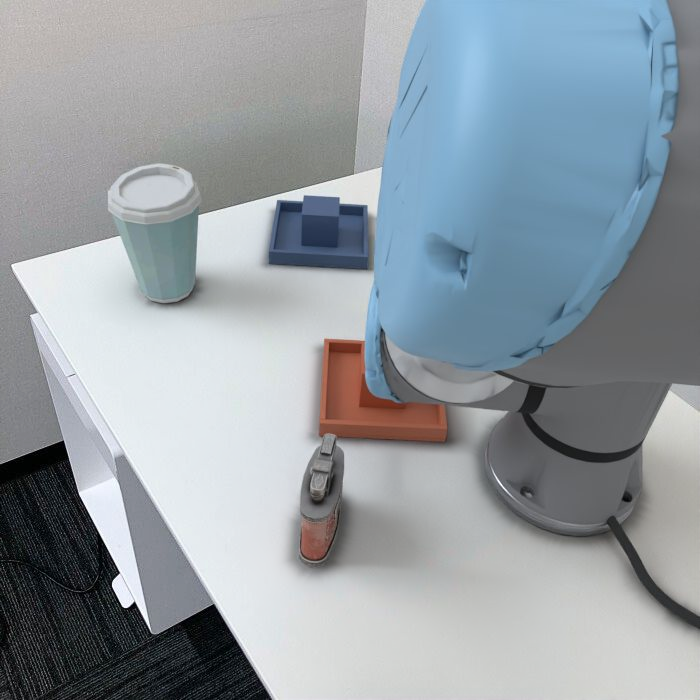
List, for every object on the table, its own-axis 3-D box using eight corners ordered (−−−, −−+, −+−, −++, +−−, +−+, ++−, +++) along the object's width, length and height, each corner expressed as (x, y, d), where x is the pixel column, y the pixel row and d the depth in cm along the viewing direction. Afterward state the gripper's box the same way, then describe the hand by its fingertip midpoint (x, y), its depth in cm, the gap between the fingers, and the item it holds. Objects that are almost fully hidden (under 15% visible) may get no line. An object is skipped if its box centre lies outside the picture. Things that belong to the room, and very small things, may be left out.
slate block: (337, 247, 102) (339, 216, 98) (301, 245, 102) (301, 214, 98) (338, 227, 105) (339, 197, 102) (303, 225, 105) (303, 195, 102)
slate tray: (367, 269, 99) (368, 256, 98) (268, 263, 99) (268, 251, 97) (366, 216, 109) (367, 204, 108) (277, 211, 109) (277, 199, 107)
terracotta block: (405, 409, 80) (410, 375, 76) (358, 406, 80) (362, 373, 76) (402, 376, 83) (407, 343, 80) (358, 374, 83) (361, 341, 80)
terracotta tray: (445, 442, 77) (447, 429, 76) (318, 436, 77) (319, 423, 75) (435, 356, 87) (437, 344, 86) (323, 351, 87) (324, 338, 85)
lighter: (329, 570, 65) (334, 502, 58) (292, 563, 65) (293, 495, 59) (345, 497, 71) (352, 428, 64) (311, 491, 71) (314, 421, 65)
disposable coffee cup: (172, 325, 88) (157, 217, 78) (104, 294, 92) (82, 187, 82) (226, 281, 95) (218, 177, 85) (161, 254, 99) (146, 151, 89)
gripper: (446, -156, 66) (417, 77, 81) (479, -94, 48) (435, 194, 62) (528, -150, 67) (485, 81, 81) (593, -86, 48) (523, 199, 62)
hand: (463, 130), depth 72 cm, fingers open, 13 cm apart
